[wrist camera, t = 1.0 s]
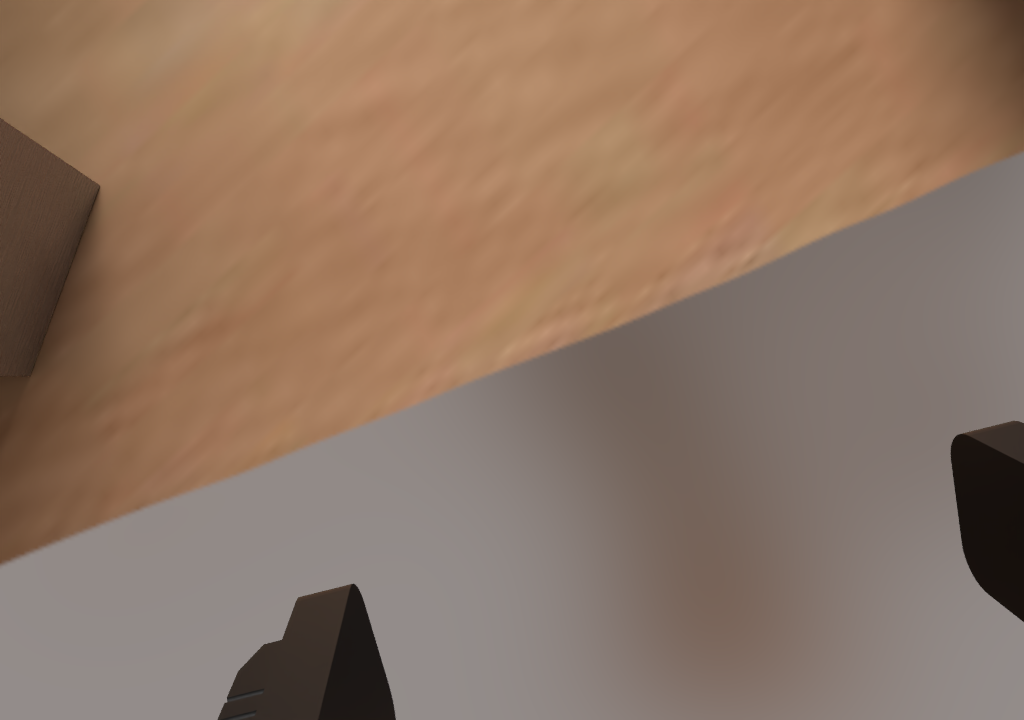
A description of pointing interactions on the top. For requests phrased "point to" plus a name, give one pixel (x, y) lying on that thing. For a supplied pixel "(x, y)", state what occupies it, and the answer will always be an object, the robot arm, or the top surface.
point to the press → (35, 242)
